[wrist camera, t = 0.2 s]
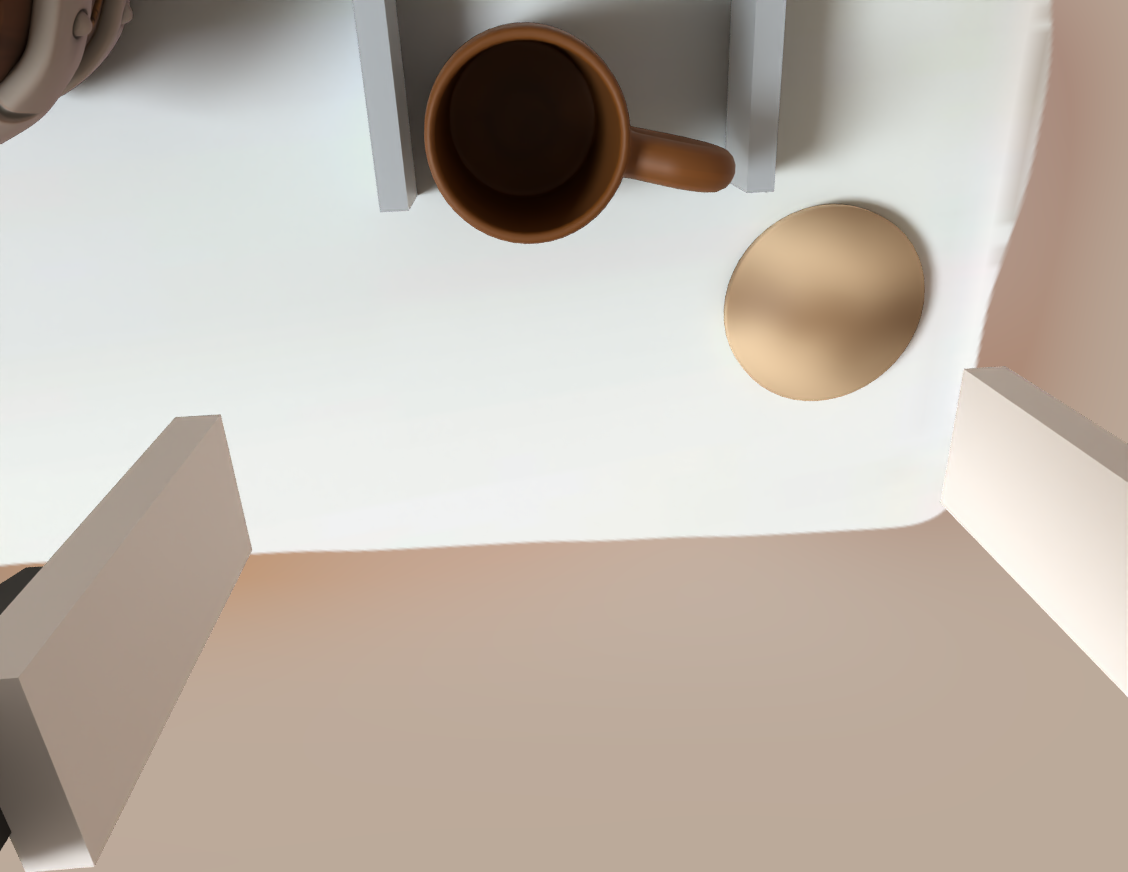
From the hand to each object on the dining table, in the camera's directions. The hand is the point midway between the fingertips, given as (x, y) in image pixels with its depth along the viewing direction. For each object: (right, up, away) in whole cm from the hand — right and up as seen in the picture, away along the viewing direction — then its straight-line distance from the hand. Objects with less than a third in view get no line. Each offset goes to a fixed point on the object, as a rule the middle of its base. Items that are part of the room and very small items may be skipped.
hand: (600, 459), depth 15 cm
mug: (0, +15, +23) cm, 28 cm away
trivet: (+12, +7, +28) cm, 31 cm away
